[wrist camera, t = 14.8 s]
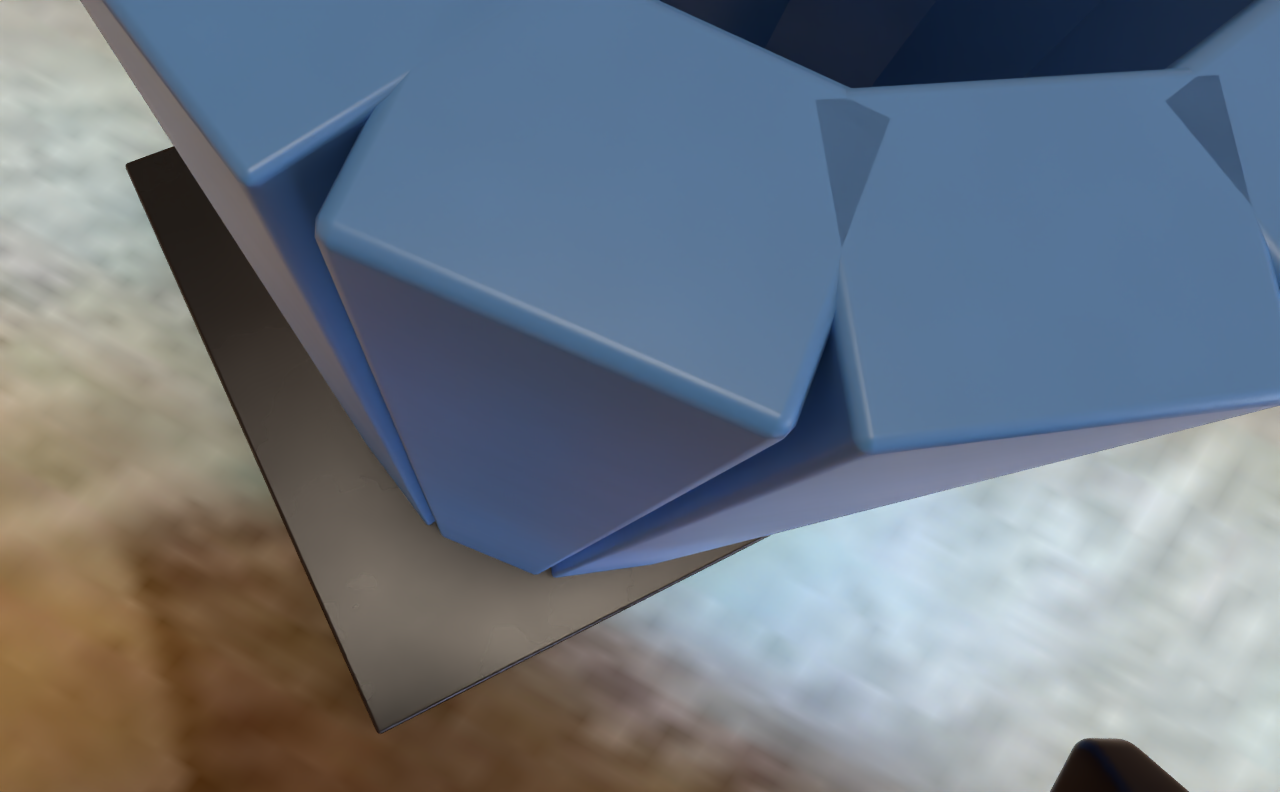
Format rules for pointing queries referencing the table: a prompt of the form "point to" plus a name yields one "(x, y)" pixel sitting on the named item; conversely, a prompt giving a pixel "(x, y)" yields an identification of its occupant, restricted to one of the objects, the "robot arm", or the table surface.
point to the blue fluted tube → (737, 241)
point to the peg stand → (366, 495)
